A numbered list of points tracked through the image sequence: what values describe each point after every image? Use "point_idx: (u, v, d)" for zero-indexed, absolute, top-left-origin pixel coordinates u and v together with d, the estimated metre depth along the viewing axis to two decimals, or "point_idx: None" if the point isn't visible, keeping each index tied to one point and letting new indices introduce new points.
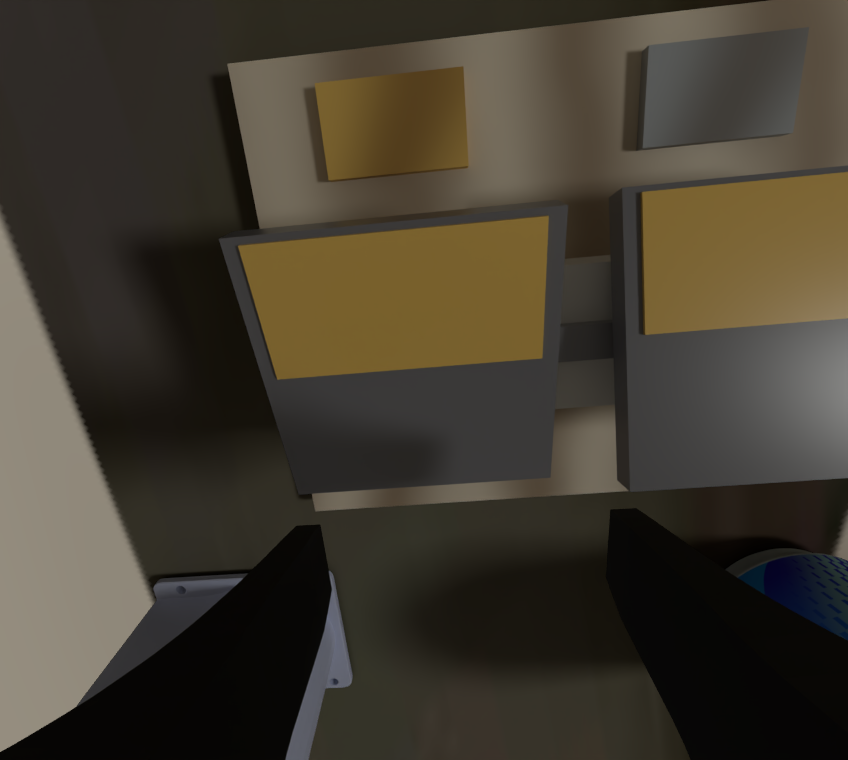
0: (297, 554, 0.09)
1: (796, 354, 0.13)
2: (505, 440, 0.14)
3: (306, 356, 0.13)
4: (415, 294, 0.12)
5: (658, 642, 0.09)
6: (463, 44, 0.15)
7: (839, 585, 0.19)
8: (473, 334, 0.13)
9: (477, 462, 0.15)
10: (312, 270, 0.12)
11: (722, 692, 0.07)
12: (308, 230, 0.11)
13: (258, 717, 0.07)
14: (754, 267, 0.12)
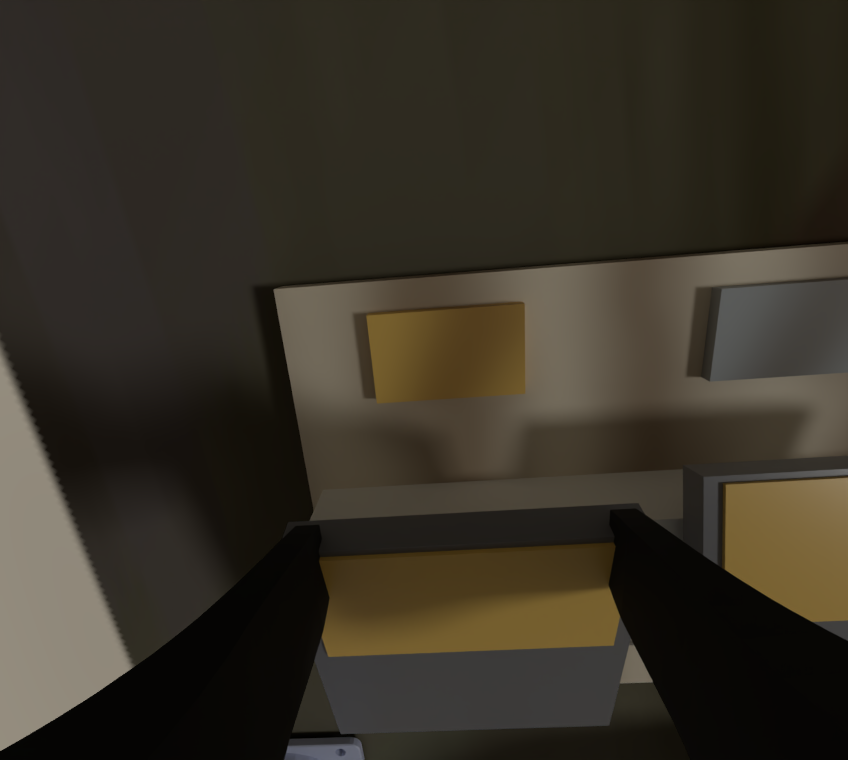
0: (297, 554, 0.09)
1: None
2: (565, 699, 0.14)
3: (361, 641, 0.12)
4: (484, 599, 0.11)
5: (657, 641, 0.09)
6: (524, 277, 0.14)
7: None
8: (542, 628, 0.12)
9: (532, 714, 0.14)
10: (375, 581, 0.11)
11: (722, 692, 0.07)
12: (373, 547, 0.10)
13: (257, 717, 0.07)
14: (843, 563, 0.12)
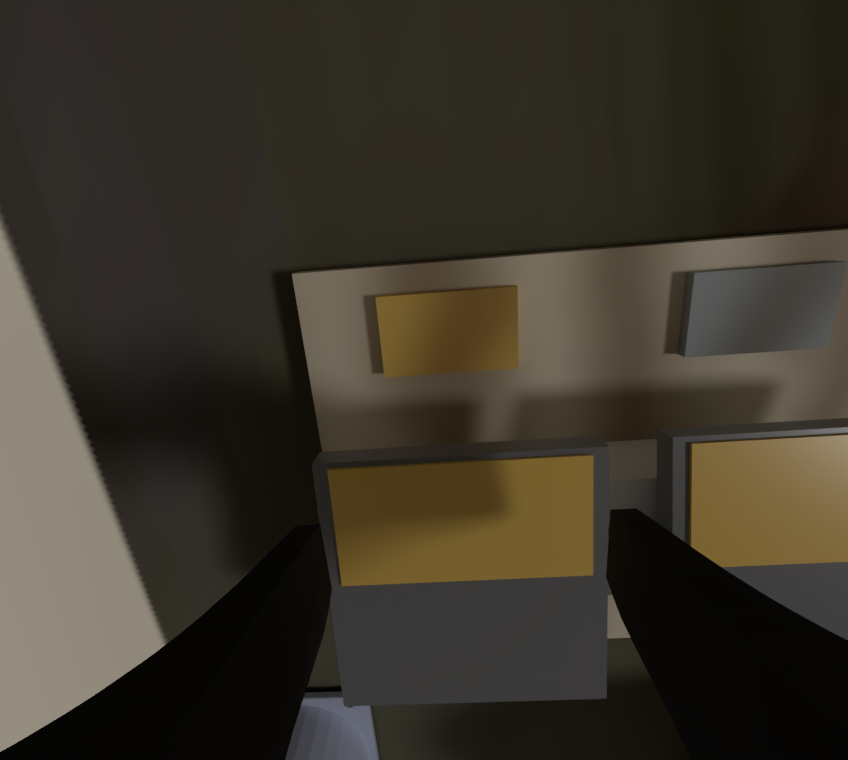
0: (298, 554, 0.09)
1: (832, 588, 0.14)
2: (559, 655, 0.14)
3: (372, 565, 0.14)
4: (476, 514, 0.13)
5: (657, 642, 0.09)
6: (517, 262, 0.15)
7: None
8: (528, 551, 0.14)
9: (530, 678, 0.15)
10: (387, 492, 0.13)
11: (722, 692, 0.07)
12: (388, 459, 0.13)
13: (258, 717, 0.07)
14: (795, 513, 0.13)
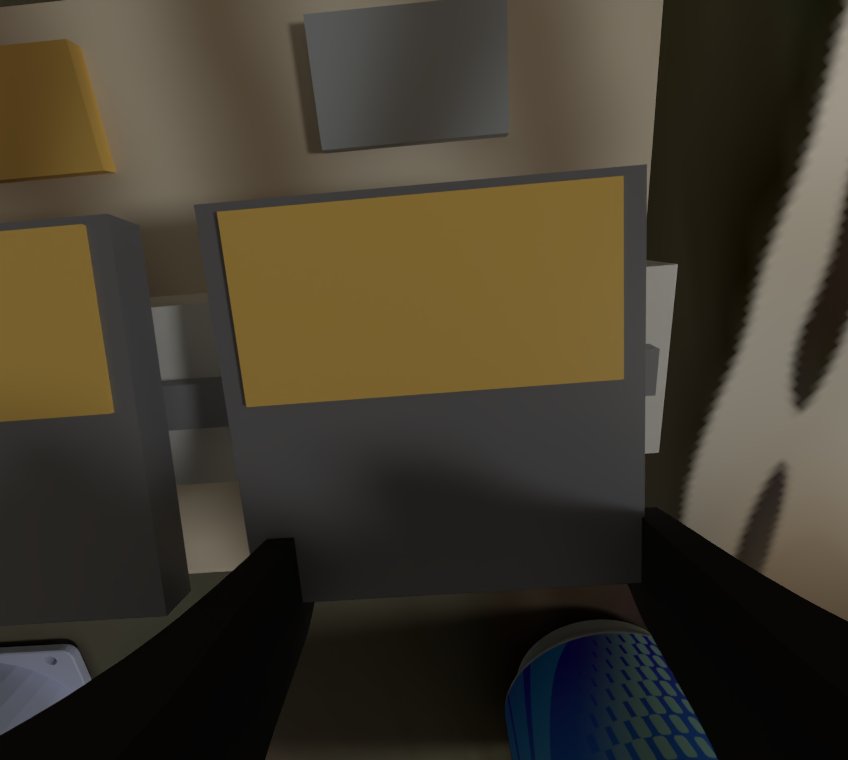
0: (279, 554, 0.09)
1: (452, 433, 0.09)
2: (87, 546, 0.10)
3: None
4: None
5: (682, 641, 0.09)
6: (73, 10, 0.11)
7: (628, 680, 0.15)
8: (13, 377, 0.09)
9: (54, 585, 0.10)
10: None
11: (753, 691, 0.07)
12: None
13: (235, 718, 0.07)
14: (381, 318, 0.09)
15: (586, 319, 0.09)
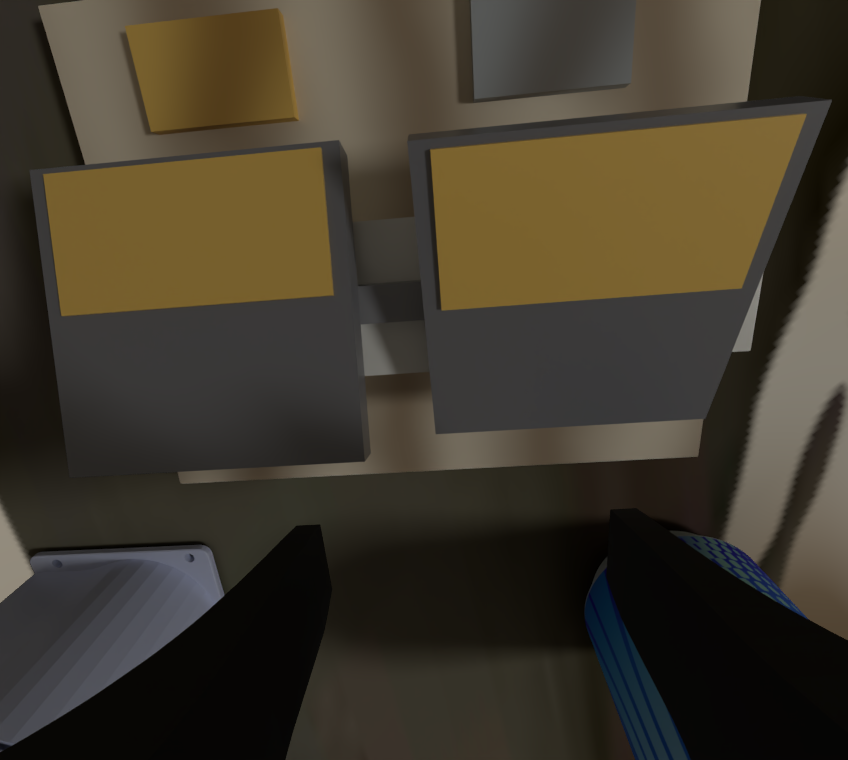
0: (297, 554, 0.09)
1: (595, 326, 0.12)
2: (305, 403, 0.13)
3: (93, 289, 0.13)
4: (201, 222, 0.12)
5: (657, 642, 0.09)
6: None
7: None
8: (260, 266, 0.12)
9: (276, 436, 0.13)
10: (106, 197, 0.12)
11: (722, 692, 0.07)
12: (109, 163, 0.12)
13: (258, 717, 0.07)
14: (559, 242, 0.11)
15: (727, 243, 0.11)
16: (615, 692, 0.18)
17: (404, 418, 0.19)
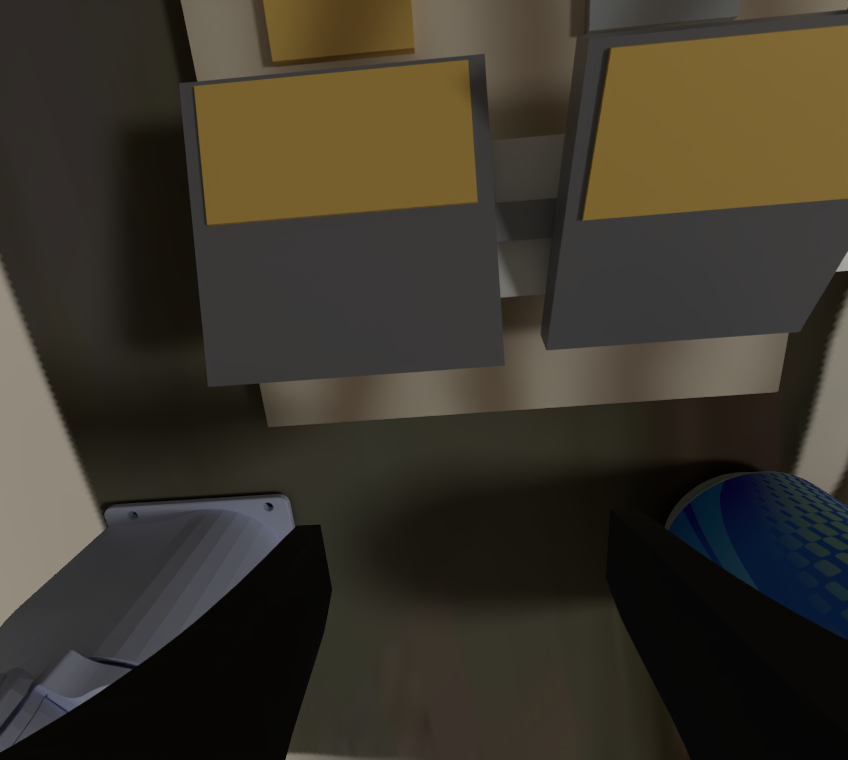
0: (297, 554, 0.09)
1: (722, 237, 0.13)
2: (447, 309, 0.13)
3: (240, 197, 0.13)
4: (350, 132, 0.13)
5: (658, 641, 0.09)
6: None
7: (792, 495, 0.18)
8: (406, 174, 0.13)
9: (417, 341, 0.13)
10: (256, 108, 0.13)
11: (722, 692, 0.07)
12: (258, 77, 0.13)
13: (258, 717, 0.07)
14: (711, 148, 0.11)
15: None
16: None
17: None
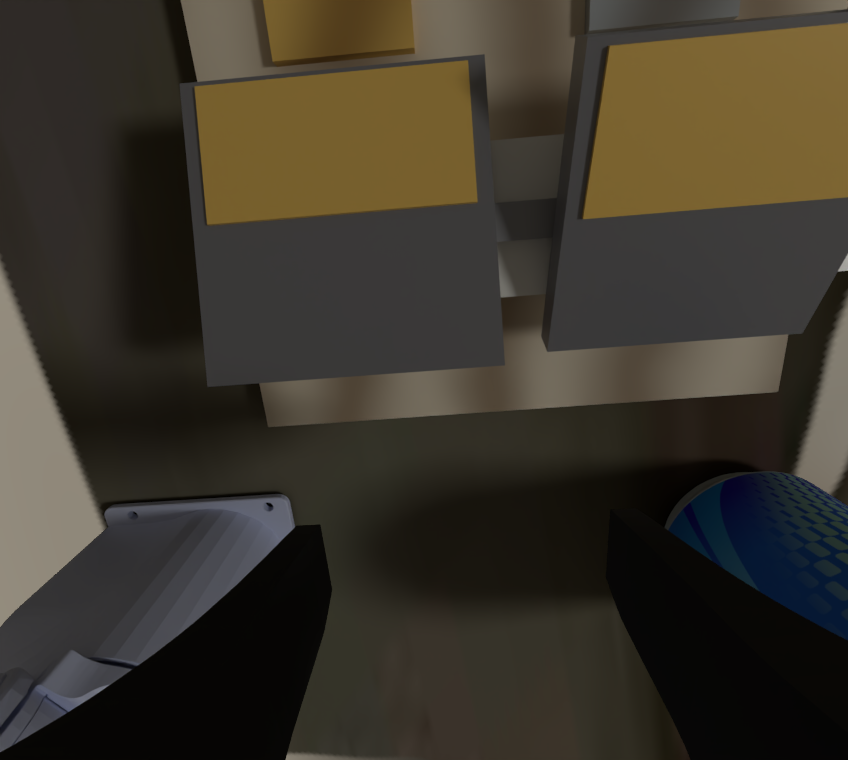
0: (297, 554, 0.09)
1: (722, 236, 0.13)
2: (447, 308, 0.13)
3: (240, 197, 0.13)
4: (350, 132, 0.13)
5: (658, 641, 0.09)
6: None
7: (792, 495, 0.18)
8: (406, 174, 0.13)
9: (417, 341, 0.13)
10: (257, 108, 0.13)
11: (722, 692, 0.07)
12: (259, 77, 0.13)
13: (258, 717, 0.07)
14: (710, 146, 0.11)
15: None
16: None
17: None
